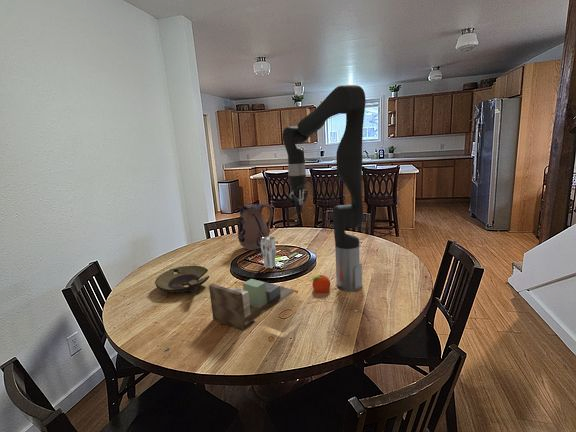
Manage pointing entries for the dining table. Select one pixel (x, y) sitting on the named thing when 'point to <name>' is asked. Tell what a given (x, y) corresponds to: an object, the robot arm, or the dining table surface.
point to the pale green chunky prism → (256, 292)
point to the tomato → (321, 283)
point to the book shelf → (238, 306)
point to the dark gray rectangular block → (272, 292)
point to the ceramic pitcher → (253, 225)
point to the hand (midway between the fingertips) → (299, 213)
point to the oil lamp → (181, 279)
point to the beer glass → (268, 251)
